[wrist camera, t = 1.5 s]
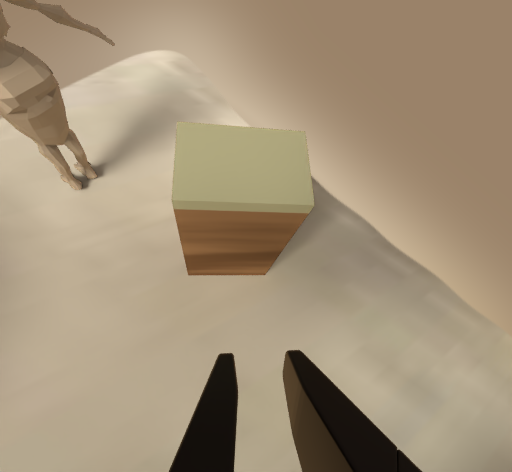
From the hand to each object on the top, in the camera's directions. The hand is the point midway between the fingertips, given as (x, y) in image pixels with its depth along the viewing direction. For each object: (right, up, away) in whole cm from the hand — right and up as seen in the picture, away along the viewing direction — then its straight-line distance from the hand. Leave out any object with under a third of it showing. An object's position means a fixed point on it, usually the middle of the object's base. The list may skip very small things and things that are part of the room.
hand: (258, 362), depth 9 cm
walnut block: (-2, +2, +15) cm, 16 cm away
